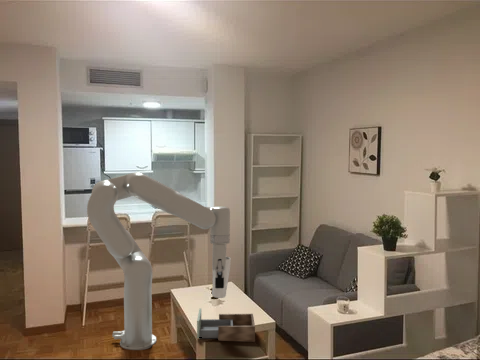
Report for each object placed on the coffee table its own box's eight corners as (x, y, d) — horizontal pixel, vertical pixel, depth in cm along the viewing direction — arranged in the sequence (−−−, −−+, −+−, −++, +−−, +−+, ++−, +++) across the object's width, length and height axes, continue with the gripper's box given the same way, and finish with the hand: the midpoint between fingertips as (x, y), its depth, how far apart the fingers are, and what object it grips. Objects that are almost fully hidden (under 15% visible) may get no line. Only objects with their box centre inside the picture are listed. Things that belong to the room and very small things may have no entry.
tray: (197, 339, 147) (197, 320, 147) (199, 325, 160) (199, 308, 159) (233, 339, 148) (233, 320, 147) (232, 325, 160) (232, 308, 160)
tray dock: (218, 342, 147) (218, 326, 147) (219, 328, 160) (219, 313, 160) (254, 342, 148) (255, 326, 148) (252, 328, 160) (252, 313, 160)
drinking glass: (229, 295, 157) (233, 257, 156) (224, 300, 150) (228, 260, 150) (213, 292, 158) (216, 254, 158) (207, 297, 152) (211, 257, 152)
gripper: (210, 234, 162) (210, 278, 163) (209, 243, 145) (209, 292, 145) (229, 234, 162) (228, 278, 163) (230, 243, 145) (229, 292, 146)
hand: (219, 284), depth 154 cm, fingers closed on drinking glass, 6 cm apart
